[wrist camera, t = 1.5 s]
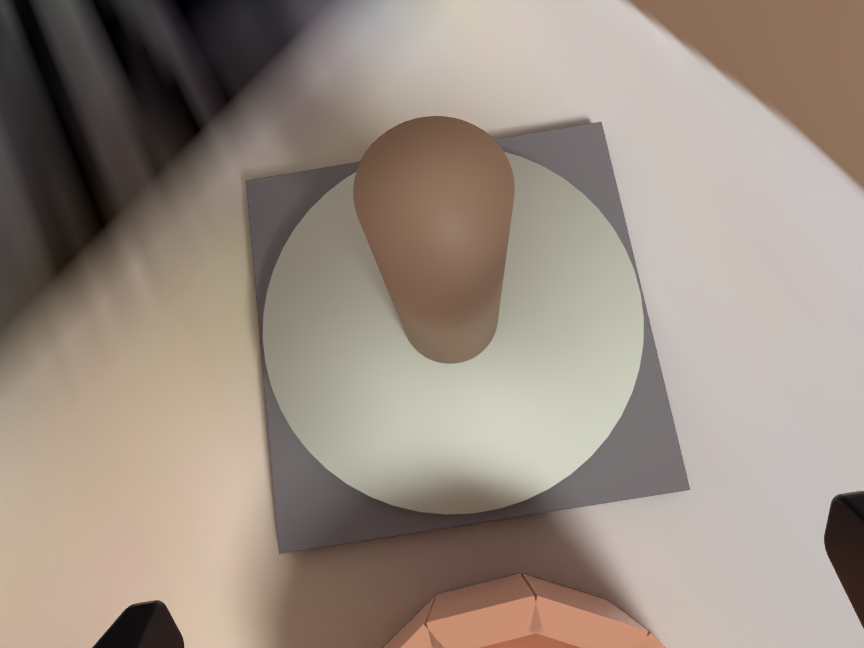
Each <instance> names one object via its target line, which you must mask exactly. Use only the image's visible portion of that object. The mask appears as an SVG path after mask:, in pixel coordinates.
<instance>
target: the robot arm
mask: <svg viewBox="0 0 864 648" xmlns="http://www.w3.org/2000/svg"><path fill="white" fill-rule="evenodd" d="M824 544H825V549H826V552H827V555H828V557H829V559H830V561H831V563H832V565H833V567H834V569H835V571H836V573H837V575H838V577H839V580H840V582H841V584H842V586H843V588H844V590H845V592H846V594H847V596H848V598H849V600H850V602H851V604H852V606H853V608H854V610H855V612H856V614H857V616H858V618H859V620H860V622H861V624H862V626H863V628H864V491H857V492H851V493H844V494H839V495H836V496H835V497H834V498H833V499H832V502H831V506H830V511H829V516H828V520H827V525H826V530H825V535H824ZM92 648H184V641H183V637H182V635H181V633H180V631H179V629H178V627H177V625H176V624H175V622H174V620H173V618H172V616H171V614H170V612H169V611H168V609H167V607H166V605H165V604H164V603H163V602H161V601H159V600H155V601H148V602H142V603H136V604H133V605H131V606H129V607H128V608H127V609H125V610H124V611H123V613H122V614H121V615H120V616H119V617H118V618H117V620H116V621H115V622H114V623H113V624H112V625H111V627H110V628H109V629H108V630H107V631H106V632H105V633H104V635H103V636H102V637H101V638H100V639H99V640H98V642H97V643H96V644H95V645H94V646H93V647H92Z"/></svg>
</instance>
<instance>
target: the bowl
mask: <svg viewBox="0 0 864 648" xmlns="http://www.w3.org/2000/svg"><path fill="white" fill-rule="evenodd" d="M384 648H665V647H664V646H663V645H662V643H661V642H660V641H659V640H658V639H657V638H656V637H655V636H654V635H653V634H652V633H651V632H650V631H648V630H647V629H646V628H644V627H643V626H642V625H640V624H639V623H638V622H636V621H635V620H634V619H632V618H631V617H629V616H628V615H627V614H625V613H624V612H623V611H621V610H620V609H619V608H617V607H616V606H615V605H613V604H612V603H611V602H609V601H608V600H606V599H602V598H599V597H596V596H593V595H590V594H586V593H583V592H580V591H577V590H574V589H570V588H567V587H564V586H561V585H558V584H554V583H551V582H548V581H545V580H542V579H538V578H535V577H532V576H529V575H526V574H522V576H521V574H516V575H512V576H508V577H504V578H500V579H496V580H492V581H488V582H484V583H480V584H476V585H472V586H468V587H464V588H460V589H456V590H452V591H448V592H444V593H440V594H437V596H434V597H433V598H432V599H431V600H430V601H429V602H428V603H427V604H426V605H425V606H424V607H423V608H422V609H421V610H420V611H419V612H418V613H417V614H416V615H415V616H414V617H413V618H412V619H411V620H410V621H409V622H408V623H407V624H406V625H405V626H404V627H403V628H402V629H401V630H400V631H399V632H398V633H397V634H396V635H395V637H394V638H393V639H392V640H391V641H390V642H389V643H388V644H387V645H386V646H385V647H384Z"/></svg>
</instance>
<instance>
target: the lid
mask: <svg viewBox="0 0 864 648" xmlns="http://www.w3.org/2000/svg"><path fill="white" fill-rule="evenodd" d="M643 339H644V316H643V308H642V300H641V293H640V289H639V286H638V282H637V278H636V274H635V271H634V268H633V266H632V263H631V261H630V259H629V256H628V254H627V251H626V249H625V247H624V246H623V244H622V242H621V240H620V239H619V237H618V235H617V233H616V232H615V230H614V228H613V227H612V226H611V224H610V223H609V222H608V220H607V219H606V218H605V217H604V215H603V214H602V213H601V211H600V210H599V209H598V208H597V207H596V206H595V205H594V204H593V203H592V202H591V201H590V200H589V199H588V198H587V197H586V196H585V195H584V194H583V193H582V192H581V191H579V190H578V189H577V188H576V187H574V186H573V185H572V184H570V183H569V182H568V181H567V180H565V179H564V178H562V177H561V176H559V175H557V174H556V173H554V172H552V171H550V170H549V169H547V168H545V167H544V166H542V165H539V164H537V163H535V162H532V161H530V160H528V159H525V158H523V157H520V156H517V155H514V154H510V153H507V152H504V151H503V150H502V148H501V147H500V146H499V144H498V143H497V142H496V141H495V140H494V139H493V138H492V137H491V136H490V135H488V134H487V133H486V132H485V131H483V130H482V129H480V128H478V127H477V126H475V125H473V124H470V123H468V122H466V121H463V120H459V119H456V118H450V117H441V116H431V117H422V118H417V119H413V120H410V121H406V122H404V123H401V124H399V125H397V126H395V127H393V128H392V129H390V130H388V131H387V132H385V133H384V134H383V135H382V136H380V137H379V138H378V139H377V140H376V141H375V142H374V143H373V144H372V145H371V146H370V148H369V149H368V150H367V151H366V153H365V155H364V156H363V158H362V160H361V162H360V164H359V166H358V169H357V172H355V173H354V174H352V175H350V176H349V177H347V178H345V179H344V180H343V181H341V182H340V183H339V184H337V185H336V186H335V187H333V188H332V189H331V190H330V191H328V192H327V193H326V194H325V195H324V196H323V197H322V198H321V199H320V200H319V201H318V202H317V203H316V204H315V205H314V206H313V207H312V208H311V209H310V210H309V211H308V212H307V213H306V215H305V216H304V217H303V218H302V220H301V221H300V222H299V224H298V225H297V226H296V227H295V229H294V231H293V232H292V234H291V236H290V237H289V239H288V240H287V242H286V244H285V245H284V247H283V249H282V251H281V254H280V256H279V258H278V260H277V263H276V265H275V267H274V270H273V273H272V276H271V280H270V283H269V287H268V290H267V295H266V301H265V307H264V314H263V346H264V355H265V364H266V368H267V372H268V376H269V379H270V383H271V387H272V390H273V392H274V395H275V397H276V400H277V402H278V405H279V407H280V409H281V411H282V413H283V415H284V416H285V418H286V420H287V422H288V423H289V425H290V427H291V429H292V430H293V432H294V433H295V434H296V436H297V437H298V438H299V440H300V441H301V442H302V444H303V445H304V446H305V447H306V449H307V450H308V451H309V452H310V453H311V454H312V455H313V456H314V457H315V458H316V459H317V460H318V461H319V462H320V463H321V464H322V465H323V466H324V467H325V468H326V469H327V470H329V471H330V472H331V473H333V474H334V475H335V476H337V477H338V478H339V479H341V480H342V481H344V482H345V483H346V484H348V485H350V486H351V487H353V488H355V489H357V490H359V491H361V492H362V493H364V494H366V495H368V496H370V497H372V498H375V499H377V500H380V501H383V502H385V503H388V504H390V505H393V506H397V507H401V508H405V509H409V510H414V511H418V512H425V513H436V514H471V513H478V512H484V511H489V510H495V509H500V508H503V507H506V506H509V505H512V504H516V503H519V502H522V501H525V500H527V499H529V498H531V497H533V496H535V495H537V494H539V493H541V492H544V491H546V490H548V489H550V488H551V487H553V486H554V485H556V484H557V483H559V482H560V481H562V480H563V479H565V478H566V477H568V476H569V475H571V474H572V473H573V472H574V471H575V470H576V469H578V468H579V467H580V466H581V465H582V464H583V463H584V462H585V461H587V460H588V459H589V458H590V457H591V456H592V455H593V454H594V452H595V451H596V450H597V449H598V448H599V447H600V445H601V444H602V443H603V442H604V441H605V440H606V439H607V437H608V436H609V434H610V433H611V431H612V430H613V428H614V427H615V425H616V423H617V422H618V420H619V419H620V417H621V416H622V414H623V411H624V409H625V407H626V405H627V403H628V401H629V398H630V396H631V394H632V392H633V388H634V385H635V382H636V378H637V375H638V372H639V368H640V362H641V356H642V349H643Z"/></svg>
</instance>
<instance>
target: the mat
mask: <svg viewBox="0 0 864 648" xmlns="http://www.w3.org/2000/svg"><path fill="white" fill-rule="evenodd" d="M494 140H495V141H496V142H497V143H498V144H499V146H500V147H501V148H502V150H503V151H504V152H507V153H510V154H514V155H517V156H520V157H523V158H525V159H528V160H530V161H532V162H535V163H537V164H539V165H542V166H544V167H545V168H547V169H549V170H550V171H552V172H554V173H556V174H557V175H559V176H561V177H562V178H564V179H565V180H567V181H568V182H569V183H570V184H572V185H573V186H574V187H576V188H577V189H578V190H579V191H581V192H582V193H583V194H584V195H585V196H586V197H587V198H588V199H589V200H590V201H591V202H592V203H593V204H594V205H595V206H596V207H597V208H598V209H599V210H600V211H601V213H602V214H603V215H604V217H605V218H606V219H607V220H608V222H609V223H610V224H611V226H612V227H613V228H614V230H615V232H616V233H617V235H618V237H619V239H620V240H621V242H622V244H623V246H624V247H625V249H626V251H627V254H628V256H629V259H630V261H631V263H632V266H633V268H634V271H635V274H636V278H637V282H638V286H639V289H640V293H641V300H642V308H643V316H644V339H643V349H642V356H641V362H640V368H639V372H638V375H637V378H636V382H635V385H634V388H633V392H632V394H631V396H630V398H629V401H628V403H627V405H626V407H625V409H624V411H623V414H622V416H621V417H620V419H619V420H618V422H617V423H616V425H615V427H614V428H613V430H612V431H611V433H610V434H609V436H608V437H607V439H606V440H605V441H604V442H603V443H602V444H601V445H600V447H599V448H598V449H597V450H596V451H595V452H594V454H593V455H592V456H591V457H590V458H589V459H588V460H587V461H585V462H584V463H583V464H582V465H581V466H580V467H579V468H578V469H576V470H575V471H574V472H573V473H572V474H571V475H569V476H568V477H566V478H565V479H563V480H562V481H560V482H559V483H557V484H556V485H554V486H553V487H551V488H550V489H548V490H546V491H544V492H541V493H539V494H537V495H535V496H533V497H531V498H529V499H527V500H525V501H522V502H519V503H516V504H512V505H509V506H506V507H503V508H500V509H495V510H489V511H484V512H478V513H471V514H436V513H425V512H418V511H414V510H409V509H405V508H401V507H397V506H393V505H390V504H388V503H385V502H383V501H380V500H377V499H375V498H372V497H370V496H368V495H366V494H364V493H362V492H361V491H359V490H357V489H355V488H353V487H351V486H350V485H348V484H346V483H345V482H344V481H342V480H341V479H339V478H338V477H337V476H335V475H334V474H333V473H331V472H330V471H329V470H327V469H326V468H325V467H324V466H323V465H322V464H321V463H320V462H319V461H318V460H317V459H316V458H315V457H314V456H313V455H312V454H311V453H310V452H309V451H308V450H307V449H306V447H305V446H304V445H303V444H302V442H301V441H300V440H299V438H298V437H297V436H296V434H295V433H294V432H293V430H292V429H291V427H290V425H289V423H288V422H287V420H286V418H285V416H284V415H283V413H282V411H281V409H280V407H279V405H278V402H277V400H276V397H275V395H274V392H273V390H272V387H271V383H270V379H269V376H268V372H267V368H266V364H265V355H264V346H263V314H264V307H265V301H266V295H267V290H268V287H269V283H270V280H271V276H272V273H273V270H274V267H275V265H276V263H277V260H278V258H279V256H280V254H281V251H282V249H283V247H284V245H285V244H286V242H287V240H288V239H289V237H290V236H291V234H292V232H293V231H294V229H295V227H296V226H297V225H298V224H299V222H300V221H301V220H302V218H303V217H304V216H305V215H306V213H307V212H308V211H309V210H310V209H311V208H312V207H313V206H314V205H315V204H316V203H317V202H318V201H319V200H320V199H321V198H322V197H323V196H324V195H325V194H326V193H327V192H328V191H330V190H331V189H332V188H333V187H335V186H336V185H337V184H339V183H340V182H341V181H343V180H344V179H345V178H347V177H349V176H350V175H352V174H354V173H355V172H357V169H358V166H359V164H360V162H356V163H350V164H344V165H338V166H332V167H326V168H320V169H314V170H308V171H302V172H296V173H290V174H284V175H278V176H271V177H265V178H259V179H253V180H247V181H246V186H247V197H248V208H249V220H250V231H251V242H252V254H253V265H254V276H255V287H256V299H257V310H258V321H259V332H260V344H261V355H262V366H263V378H264V389H265V400H266V411H267V423H268V434H269V445H270V457H271V468H272V479H273V490H274V502H275V513H276V524H277V535H278V547H279V554H280V553H287V552H293V551H300V550H306V549H313V548H319V547H325V546H332V545H338V544H345V543H351V542H358V541H364V540H370V539H377V538H383V537H390V536H396V535H403V534H409V533H416V532H422V531H428V530H435V529H441V528H448V527H454V526H461V525H467V524H473V523H480V522H486V521H493V520H499V519H506V518H512V517H518V516H525V515H531V514H538V513H544V512H551V511H557V510H563V509H570V508H576V507H583V506H589V505H596V504H602V503H608V502H615V501H621V500H628V499H634V498H641V497H647V496H653V495H660V494H666V493H673V492H679V491H686V490H690V487H689V483H688V479H687V475H686V471H685V467H684V462H683V458H682V454H681V450H680V446H679V442H678V437H677V433H676V429H675V425H674V421H673V417H672V413H671V408H670V404H669V400H668V396H667V392H666V388H665V384H664V379H663V375H662V371H661V367H660V363H659V359H658V355H657V350H656V346H655V342H654V338H653V334H652V330H651V325H650V321H649V317H648V313H647V309H646V305H645V301H644V296H643V292H642V288H641V284H640V280H639V276H638V272H637V267H636V263H635V259H634V255H633V251H632V247H631V243H630V238H629V234H628V230H627V226H626V222H625V218H624V213H623V209H622V205H621V201H620V197H619V193H618V189H617V184H616V180H615V176H614V172H613V168H612V164H611V160H610V155H609V151H608V147H607V143H606V139H605V135H604V130H603V126H602V122H597V123H591V124H585V125H579V126H573V127H567V128H561V129H555V130H549V131H543V132H537V133H531V134H525V135H519V136H513V137H507V138H501V139H494Z"/></svg>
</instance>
